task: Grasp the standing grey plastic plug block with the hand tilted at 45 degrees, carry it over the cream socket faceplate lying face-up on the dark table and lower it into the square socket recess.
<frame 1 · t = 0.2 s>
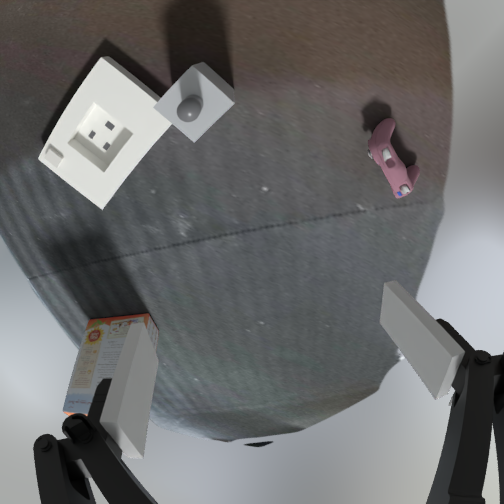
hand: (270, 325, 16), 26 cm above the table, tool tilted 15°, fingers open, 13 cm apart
video game controller: (386, 152, 38), on the table
cracker box: (124, 324, 56), on the table
plug: (203, 90, 32), on the table
socket plate: (105, 132, 33), on the table
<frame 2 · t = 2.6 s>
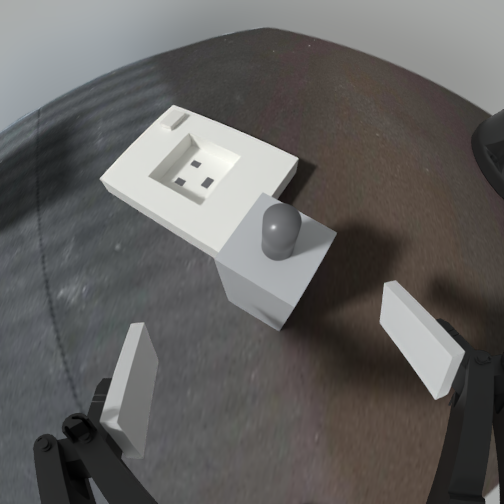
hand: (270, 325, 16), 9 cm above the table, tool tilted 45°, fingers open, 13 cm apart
plug: (269, 291, 26), on the table
socket plate: (197, 179, 30), on the table
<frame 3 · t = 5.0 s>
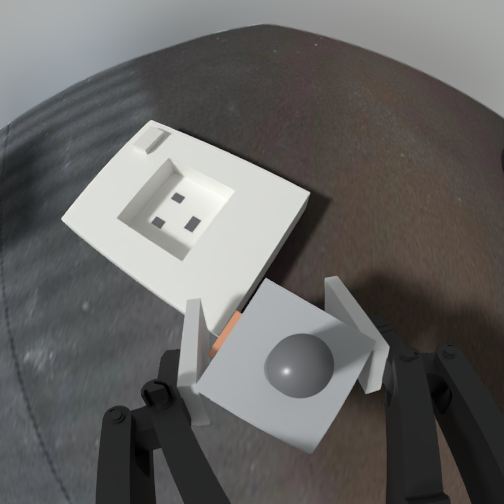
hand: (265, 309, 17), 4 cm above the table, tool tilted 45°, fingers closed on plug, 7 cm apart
plug: (272, 369, 20), on the table, touching gripper
socket plate: (180, 219, 24), on the table
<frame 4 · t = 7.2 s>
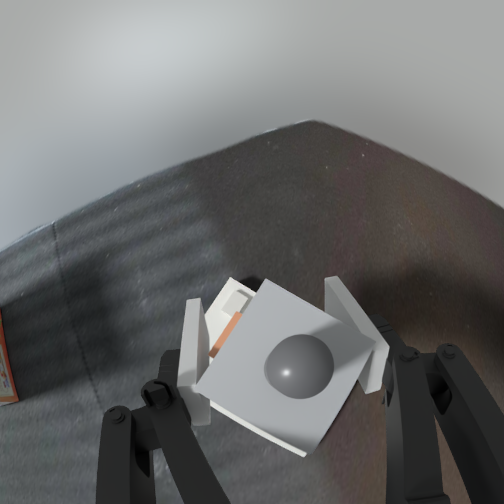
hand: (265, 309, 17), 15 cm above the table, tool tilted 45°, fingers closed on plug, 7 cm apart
plug: (272, 370, 20), point 11 cm above the table, touching gripper
socket plate: (265, 369, 30), on the table
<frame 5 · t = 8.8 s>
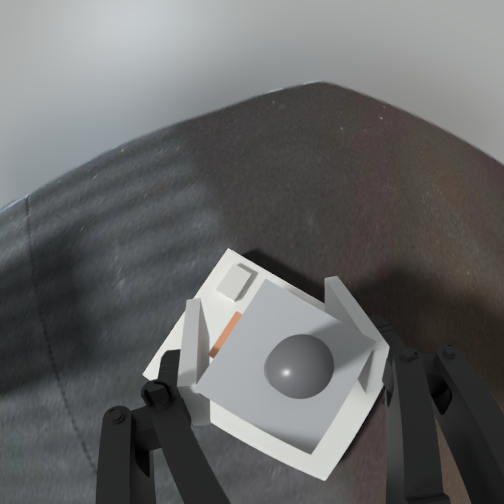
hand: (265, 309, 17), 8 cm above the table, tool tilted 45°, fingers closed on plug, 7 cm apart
plug: (272, 370, 20), point 4 cm above the table, touching gripper
socket plate: (274, 368, 23), on the table
when the fingers open (5 cm above the table, at t = 9.9 s): plug stays where it is, resting on socket plate.
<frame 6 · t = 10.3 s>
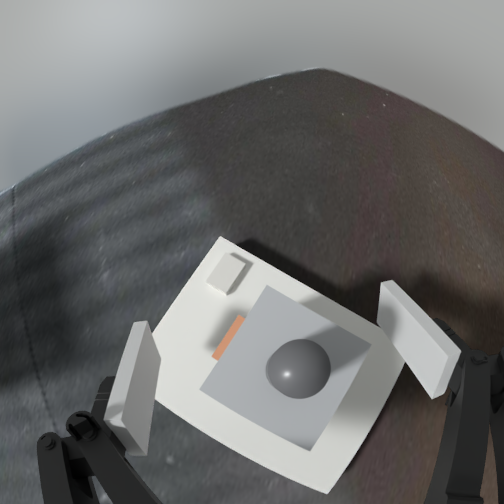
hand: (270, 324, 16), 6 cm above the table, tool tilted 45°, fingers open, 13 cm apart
plug: (272, 370, 20), resting on socket plate
socket plate: (271, 370, 21), on the table
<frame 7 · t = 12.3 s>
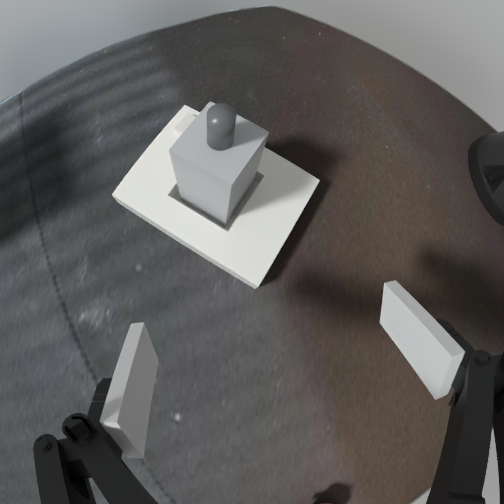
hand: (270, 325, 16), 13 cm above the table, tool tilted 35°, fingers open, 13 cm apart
plug: (217, 192, 30), resting on socket plate
socket plate: (216, 193, 30), on the table
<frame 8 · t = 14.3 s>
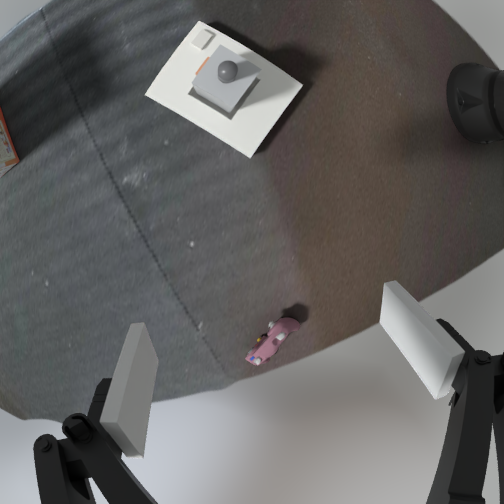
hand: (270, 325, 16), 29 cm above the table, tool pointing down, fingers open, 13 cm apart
video game controller: (269, 332, 52), on the table
plug: (224, 88, 36), resting on socket plate
socket plate: (223, 88, 36), on the table
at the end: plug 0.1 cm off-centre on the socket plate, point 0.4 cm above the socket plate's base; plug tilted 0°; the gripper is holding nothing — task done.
